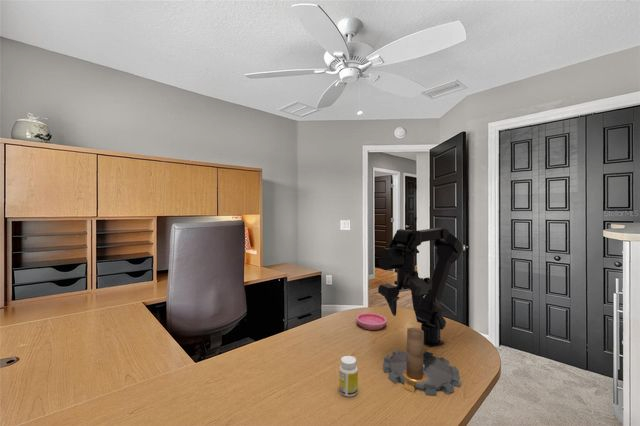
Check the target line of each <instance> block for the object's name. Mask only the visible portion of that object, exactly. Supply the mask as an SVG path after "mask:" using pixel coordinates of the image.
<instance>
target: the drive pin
mask: <svg viewBox="0 0 640 426" xmlns="http://www.w3.org/2000/svg"><path fill="white" fill-rule="evenodd" d="M424 344H425V343H424V331H423V330H421V328H418V327H408V328H407V329H406V352H407V370H406V375H407V376H408V377H409V378H411V379H413V380H421V379H422V378H423V353H424V348H425V347H424Z"/></svg>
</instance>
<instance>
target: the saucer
mask: <svg viewBox="0 0 640 426" xmlns="http://www.w3.org/2000/svg"><path fill="white" fill-rule="evenodd" d="M355 320H356V322H357V324H358V325H359V326H360V327H361V328H362V329H365V330H369V331H376V330H377V331H378V330H382V329H383V328H384V327H385V326H386V324H387V322H388V320H387V318H386V317H385V316H383V315H381V314H377V313H373V312H365V313H360V314H358V315H357V316H356V318H355Z"/></svg>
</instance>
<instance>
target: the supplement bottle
mask: <svg viewBox="0 0 640 426" xmlns="http://www.w3.org/2000/svg"><path fill="white" fill-rule="evenodd" d="M338 369H339V372H338V373H339V377H338V378H339V379H338V381H339V383H338V384H339V385H338V386H339V387H338V388H339V393H340V394H341V395H342V396H344V397H347V398H348V397H350V398H352V397H354V396H356V395H357V394H358V389H359V387H358V384H359V383H358V381H359V380H358V379H359V377H358V375H359V374H358V373H359V372H358V370H359V369H358V366H357V359H356V357H354V356H352V355H344V356H342V357H341V358H340V365H339V368H338Z"/></svg>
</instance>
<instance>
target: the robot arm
mask: <svg viewBox="0 0 640 426" xmlns="http://www.w3.org/2000/svg"><path fill="white" fill-rule="evenodd" d="M430 241H433V245H434V247H435V248H436V250H435V253H436V257H437V260H436V264H435V266H434V267H435V268H434V270H433V273H432V276H431V277H419V271H418V270H416V254H420V251H419V249H417V247H419V246H420V245H421V246H422V243H424V242H430ZM462 251H463V245H462V243H461V242H460V240H459V239H458V238H457V237H456V236H454V235H453V234H452V233H450V231H449V230H448V229H447V228H445V227H433V228H427V229H426V228H425V229H420V230H414V229H403V228H401V229H400V228H399V229H397V230H396V231H395V234H394V236H393V237H392V239H391V241H390V244H389V245H388V247H387V248H386V247H385V248H384V247H383V250H382V252H381V253H380V254H379V257H377V258H378V259H377V262H378V266H379V267H380V269H382V270H383V271H391V270H394V273H396V280H394V282H393V283H394V285H393V284H391V283H384V284H383V283H382V284H379V286H378V289H377V291H378V292H377V294H380V295H381V296H382V297H384V299H385V300H386V303H387V305H388V307H389V309H390V312H391V314H392V316H393V317H396V316H397V306H398V305H397V304H398V303H397V302H398V300H400V297H399V295H400V293H401V292H406V291H410V293H411V294H410V295H411V300H412V301H411V302H412V307H413V311H414V314H415V318H416V322H417V323H420V324H421V326H420V327H421V328H420V329H421V330H423V331H424V344H425V345H427V346H429V347H437V346H439V345H442V344H444V341H443V340H441V331H442V330H444V329H445V328H446V326H447V325H446V324H447V321H446V319H445V318H444V316H443V315H442V312H443V308H442V305H441V299H442V296H443V293H444V289H445V287H446V283H447V279H448V277H449V273H450V271H451V266H452V264H454V263H455V262H456V261H458V259H460V255H461V253H462Z"/></svg>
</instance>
